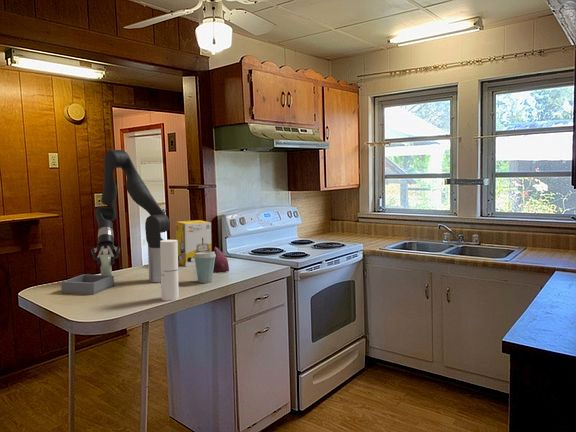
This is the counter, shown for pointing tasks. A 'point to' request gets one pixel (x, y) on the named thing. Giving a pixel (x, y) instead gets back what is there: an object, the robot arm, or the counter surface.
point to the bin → (87, 284)
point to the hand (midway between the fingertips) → (105, 264)
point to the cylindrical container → (169, 270)
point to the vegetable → (220, 262)
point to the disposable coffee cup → (205, 266)
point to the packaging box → (192, 240)
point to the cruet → (105, 263)
